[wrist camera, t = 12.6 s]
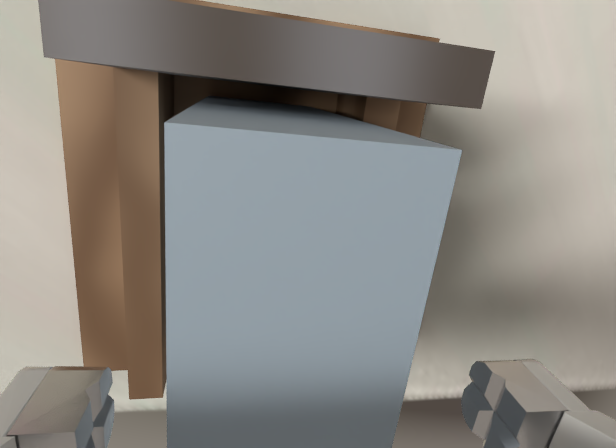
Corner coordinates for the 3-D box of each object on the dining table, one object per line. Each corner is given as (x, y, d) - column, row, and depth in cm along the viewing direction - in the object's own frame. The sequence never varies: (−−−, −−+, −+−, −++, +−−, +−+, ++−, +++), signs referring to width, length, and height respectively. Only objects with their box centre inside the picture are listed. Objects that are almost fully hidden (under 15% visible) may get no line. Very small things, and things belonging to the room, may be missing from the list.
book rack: (430, 40, 21) (622, -1, 11) (370, 351, 27) (454, 510, 17) (57, -18, 17) (-201, -170, 7) (89, 360, 23) (-18, 573, 13)
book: (309, 106, 20) (462, 149, 7) (287, 310, 24) (359, 584, 11) (209, 95, 19) (163, 122, 6) (203, 310, 23) (168, 616, 10)
